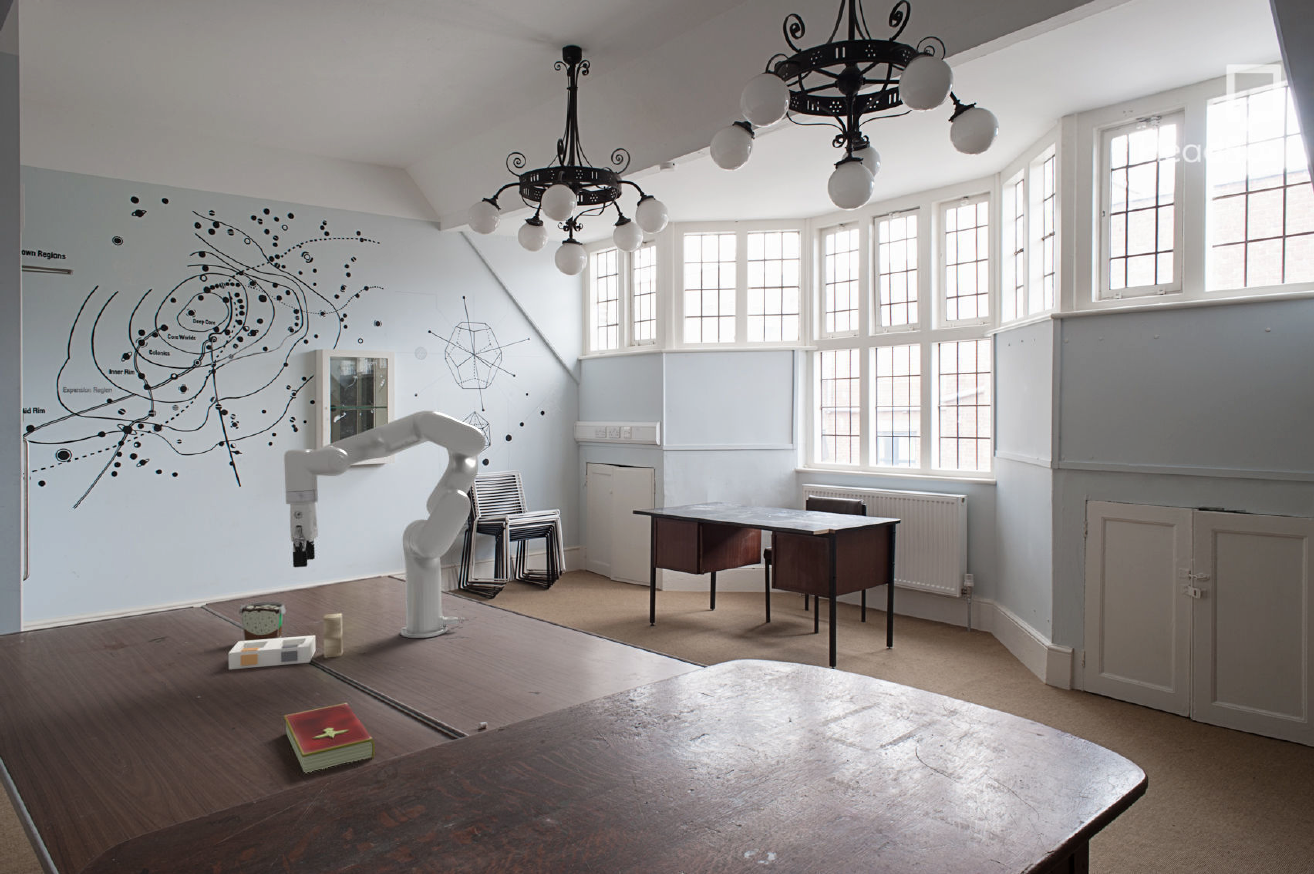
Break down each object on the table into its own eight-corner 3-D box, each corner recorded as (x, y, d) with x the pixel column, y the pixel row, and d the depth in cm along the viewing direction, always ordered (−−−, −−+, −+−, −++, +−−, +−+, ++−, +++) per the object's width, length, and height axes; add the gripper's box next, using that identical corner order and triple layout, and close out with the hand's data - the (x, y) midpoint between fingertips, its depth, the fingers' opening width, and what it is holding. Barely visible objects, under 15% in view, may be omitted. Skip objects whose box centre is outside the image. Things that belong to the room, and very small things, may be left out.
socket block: (315, 650, 203) (315, 634, 203) (309, 662, 193) (308, 645, 193) (239, 656, 198) (238, 640, 198) (228, 669, 188) (228, 652, 188)
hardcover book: (349, 721, 157) (348, 700, 157) (375, 759, 140) (374, 736, 139) (283, 735, 150) (283, 714, 150) (302, 777, 133) (302, 753, 133)
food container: (295, 637, 215) (294, 601, 215) (282, 643, 209) (281, 606, 208) (253, 636, 216) (252, 600, 216) (239, 642, 210) (238, 606, 210)
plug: (343, 651, 202) (342, 613, 201) (341, 656, 198) (340, 617, 198) (326, 652, 201) (325, 614, 200) (324, 657, 197) (323, 618, 196)
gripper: (311, 500, 193) (313, 568, 193) (323, 492, 209) (325, 555, 210) (278, 501, 191) (280, 570, 192) (293, 494, 208) (295, 557, 208)
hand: (304, 562), depth 201 cm, fingers open, 9 cm apart
